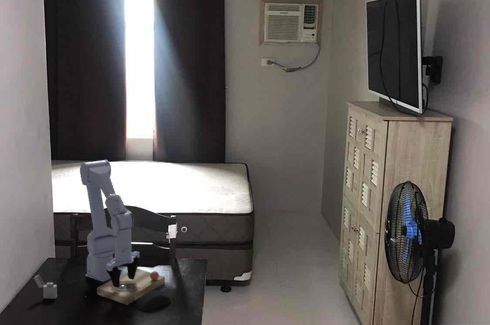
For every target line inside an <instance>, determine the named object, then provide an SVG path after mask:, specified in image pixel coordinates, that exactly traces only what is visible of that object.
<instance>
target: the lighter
mask: <svg viewBox="0 0 490 325" xmlns="http://www.w3.org/2000/svg"><path fill="white" fill-rule="evenodd" d="M33 279H34V281H35V283H36V284H37V286H38V288H39V289H40V288H42V290H43V299H50V300H51V299H52V300H54V299H55V300H56V299H57V298H58V286H57V284H54V282H46V284H45V282H44V281H43V279H42V277H41V276H40V274H37V275H35V276H34V277H33Z"/></svg>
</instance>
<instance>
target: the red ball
mask: <svg viewBox="0 0 490 325" xmlns="http://www.w3.org/2000/svg"><path fill="white" fill-rule="evenodd" d="M150 273H151V274H150V278H151V279H152V280H157V279H158V278H159V275H160V273H159V272H157V270H156V271H155V270H154V271H151V272H150Z"/></svg>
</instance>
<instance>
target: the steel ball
mask: <svg viewBox="0 0 490 325" xmlns="http://www.w3.org/2000/svg"><path fill="white" fill-rule="evenodd" d="M118 289H121V290H123V289H127V287H126V286H125V285H121V286H119V288H118Z"/></svg>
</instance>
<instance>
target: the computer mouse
mask: <svg viewBox="0 0 490 325" xmlns="http://www.w3.org/2000/svg"><path fill="white" fill-rule="evenodd" d="M170 303H171V297H170V296H169V295H167V294H166V293H164V292H163V291H160V290H156V289H154V290H152V291H150V292H147V293H146V294H144V295H143V296H142V297H140V298H138V299H137V300H136V302H135V308H137V309H138V310H140V311H141V312H149V311H152V310H154V309H157V308H159V307H162V306H165V305H168V304H170Z"/></svg>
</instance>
